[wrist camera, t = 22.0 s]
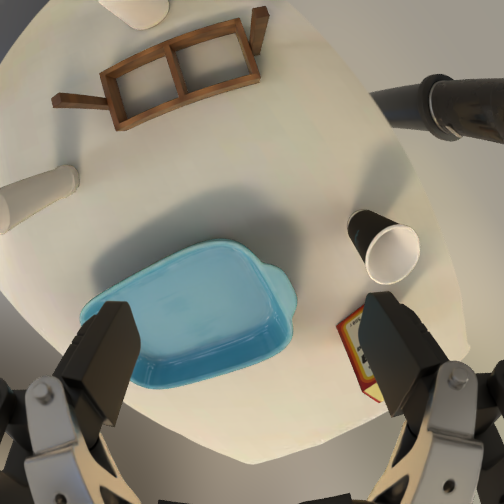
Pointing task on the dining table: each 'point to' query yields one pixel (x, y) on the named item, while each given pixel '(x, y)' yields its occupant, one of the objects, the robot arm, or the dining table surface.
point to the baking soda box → (358, 355)
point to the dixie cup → (384, 246)
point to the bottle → (35, 195)
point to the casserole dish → (204, 313)
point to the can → (138, 11)
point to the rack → (173, 72)
